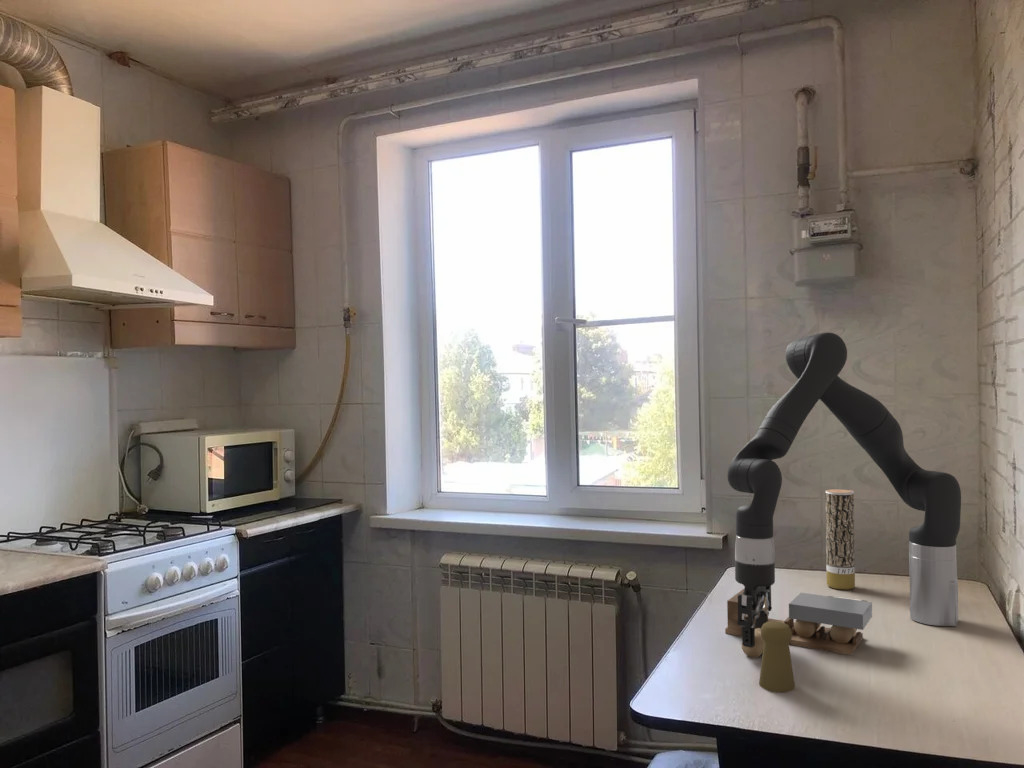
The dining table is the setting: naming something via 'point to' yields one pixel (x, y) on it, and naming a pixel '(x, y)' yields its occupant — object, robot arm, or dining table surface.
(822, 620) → the slab
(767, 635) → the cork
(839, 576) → the paper tube
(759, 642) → the roller
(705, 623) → the dining table surface
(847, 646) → the roller bed
